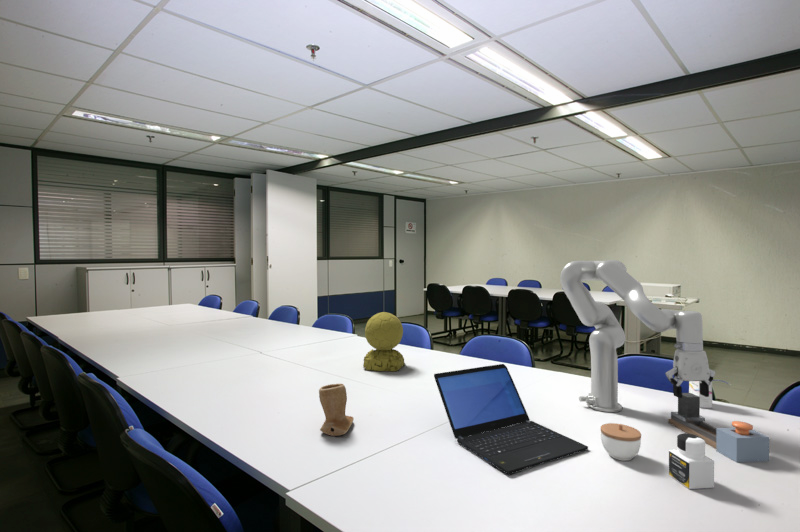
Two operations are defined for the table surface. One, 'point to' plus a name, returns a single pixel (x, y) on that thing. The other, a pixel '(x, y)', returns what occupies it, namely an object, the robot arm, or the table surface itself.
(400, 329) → the trophy
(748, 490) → the table surface
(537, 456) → the laptop
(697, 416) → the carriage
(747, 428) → the button
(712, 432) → the slide rail track
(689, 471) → the medicine bottle
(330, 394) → the tan hollow upright piece
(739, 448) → the button housing
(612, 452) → the lidded jar
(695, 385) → the ink cartridge box
